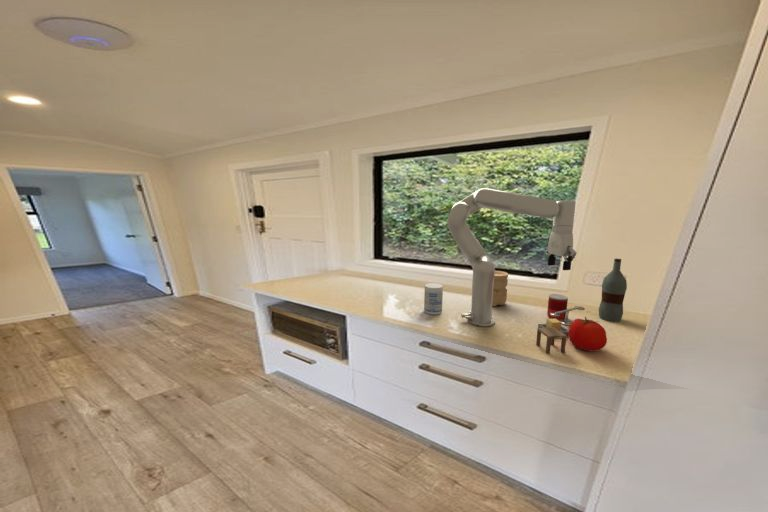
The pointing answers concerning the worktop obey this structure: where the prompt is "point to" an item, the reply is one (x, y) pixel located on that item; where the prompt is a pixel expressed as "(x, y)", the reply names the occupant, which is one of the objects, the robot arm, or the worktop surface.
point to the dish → (561, 329)
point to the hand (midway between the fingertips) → (558, 267)
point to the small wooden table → (551, 338)
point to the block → (553, 324)
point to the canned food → (557, 305)
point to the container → (500, 288)
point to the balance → (566, 314)
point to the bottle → (613, 294)
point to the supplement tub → (433, 298)
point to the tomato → (587, 334)
